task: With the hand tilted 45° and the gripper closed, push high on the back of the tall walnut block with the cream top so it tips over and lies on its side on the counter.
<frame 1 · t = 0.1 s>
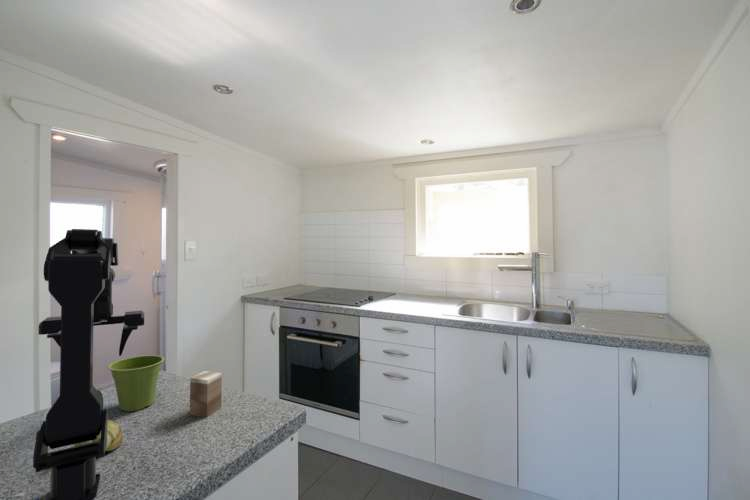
hand: (95, 358, 81), 15 cm above the worktop, tool pointing down, fingers open, 9 cm apart
walnut block: (205, 411, 87), on the worktop
seashell: (98, 450, 70), on the worktop
plant pot: (136, 406, 90), on the worktop
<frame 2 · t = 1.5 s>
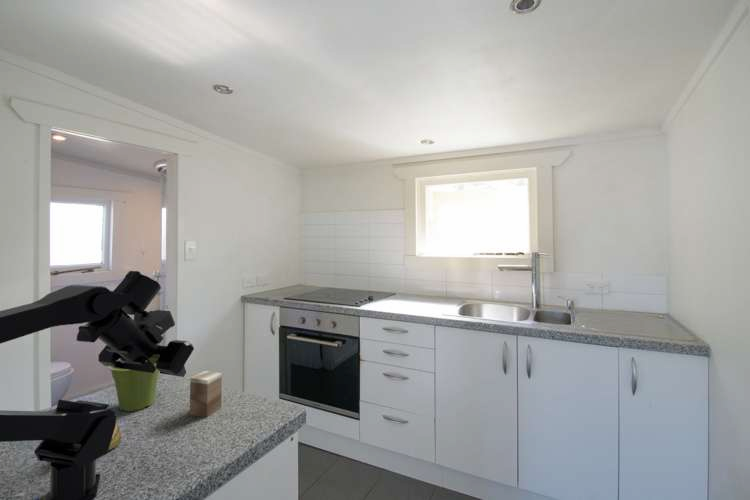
hand: (169, 372, 76), 13 cm above the worktop, tool tilted 45°, fingers open, 8 cm apart
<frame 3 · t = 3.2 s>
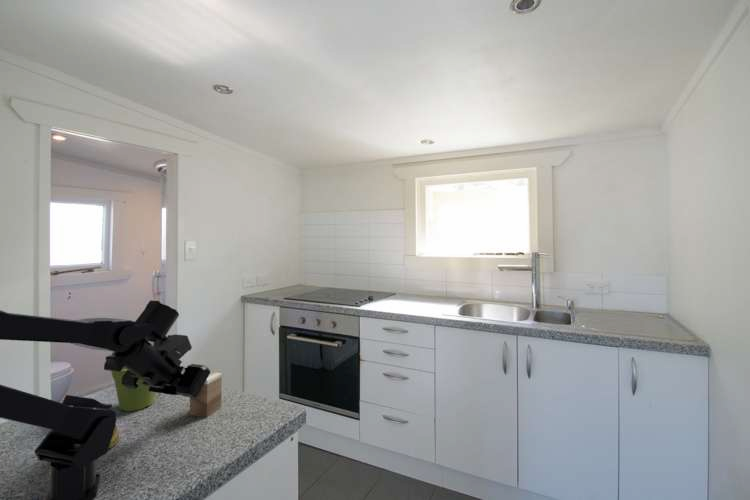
hand: (186, 392, 81), 7 cm above the worktop, tool tilted 45°, fingers closed
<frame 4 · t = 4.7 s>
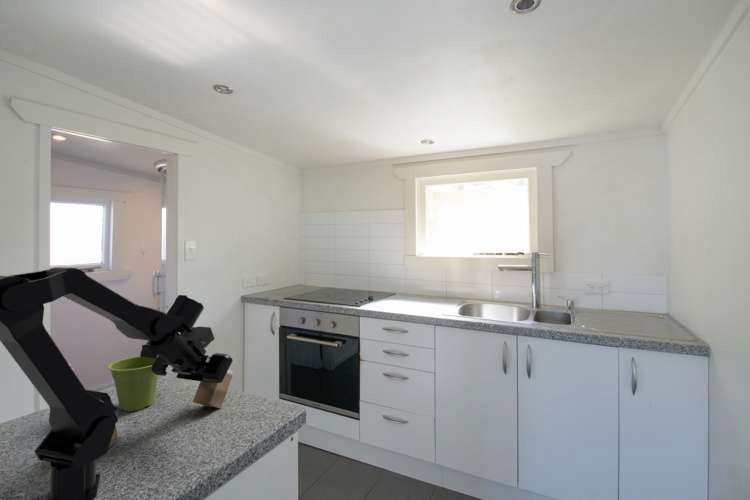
hand: (209, 380, 88), 7 cm above the worktop, tool tilted 45°, fingers closed
walnut block: (207, 405, 87), point 1 cm above the worktop, tilted 33°
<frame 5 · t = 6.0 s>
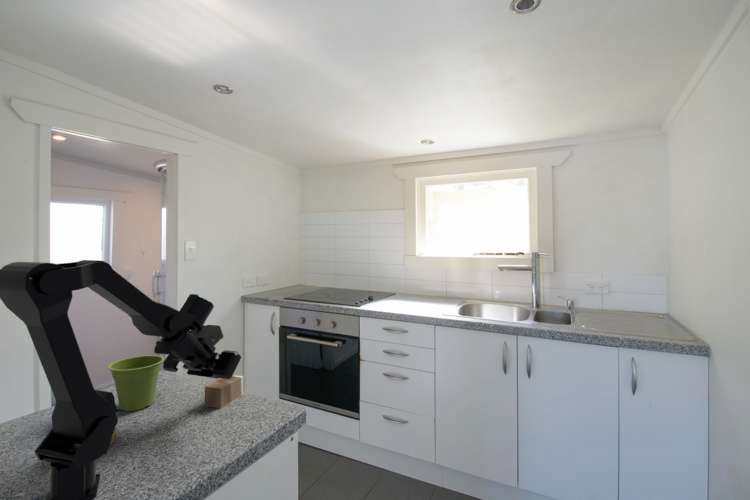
hand: (218, 376, 91), 7 cm above the worktop, tool tilted 45°, fingers closed
walnut block: (212, 397, 89), point 2 cm above the worktop, tilted 90°
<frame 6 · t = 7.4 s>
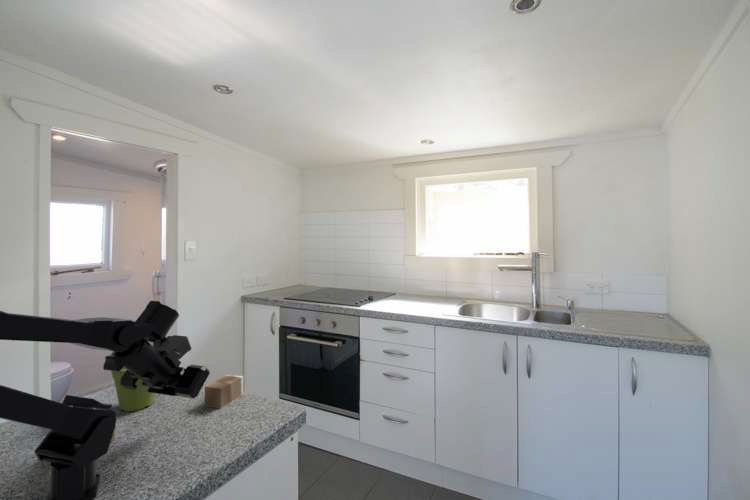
hand: (185, 394, 81), 7 cm above the worktop, tool tilted 45°, fingers closed
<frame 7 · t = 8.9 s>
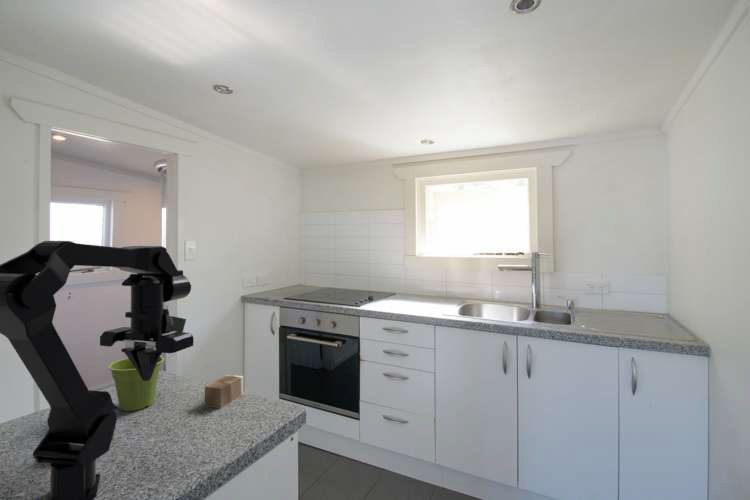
hand: (146, 380, 73), 13 cm above the worktop, tool pointing down, fingers closed
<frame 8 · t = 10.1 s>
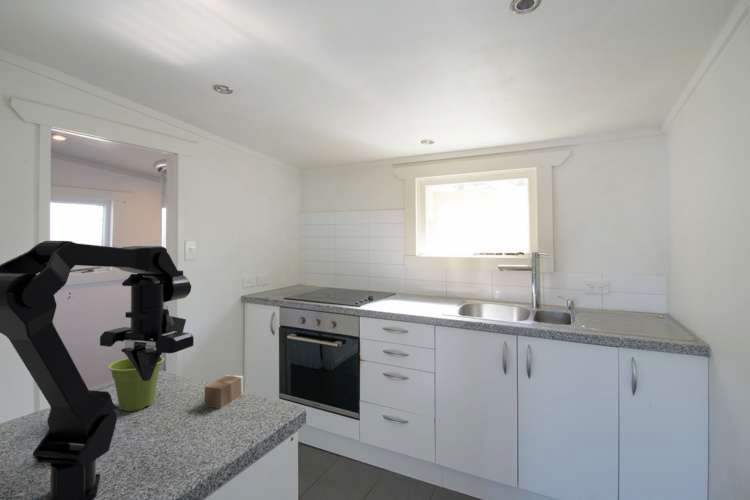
hand: (146, 380, 73), 13 cm above the worktop, tool pointing down, fingers closed
at the end: walnut block tilted 90°; walnut block inside the target area (0.4 cm from its centre), point 2.4 cm above the worktop; walnut block touching worktop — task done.
